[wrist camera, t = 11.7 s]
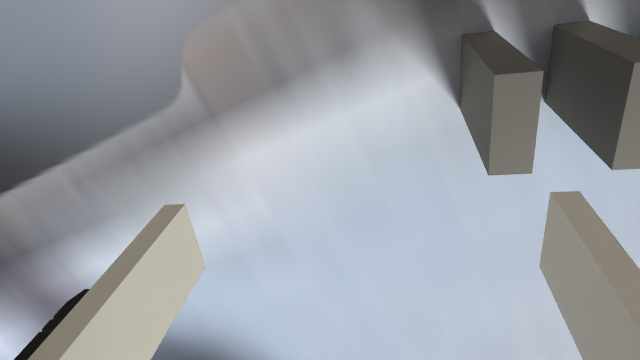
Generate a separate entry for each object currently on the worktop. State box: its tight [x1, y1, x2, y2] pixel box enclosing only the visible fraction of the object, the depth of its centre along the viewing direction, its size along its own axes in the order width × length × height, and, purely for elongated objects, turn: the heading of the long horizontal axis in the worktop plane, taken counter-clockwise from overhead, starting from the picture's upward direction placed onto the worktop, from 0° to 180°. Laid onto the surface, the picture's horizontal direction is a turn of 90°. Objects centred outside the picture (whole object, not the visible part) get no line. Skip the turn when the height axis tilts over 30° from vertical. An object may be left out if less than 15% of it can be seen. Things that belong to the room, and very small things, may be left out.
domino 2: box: [545, 21, 640, 170], centre depth 23 cm, size 2×5×10 cm, turn 8°
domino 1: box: [460, 31, 544, 175], centre depth 24 cm, size 2×5×10 cm, turn 8°
